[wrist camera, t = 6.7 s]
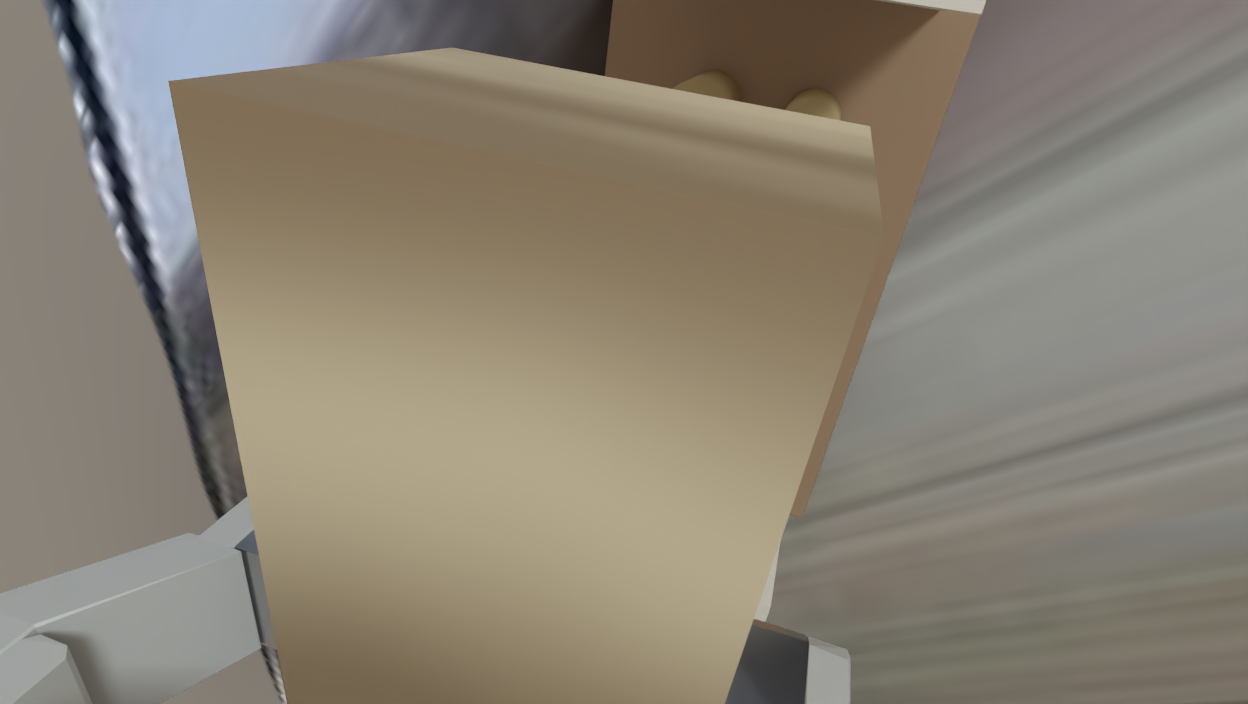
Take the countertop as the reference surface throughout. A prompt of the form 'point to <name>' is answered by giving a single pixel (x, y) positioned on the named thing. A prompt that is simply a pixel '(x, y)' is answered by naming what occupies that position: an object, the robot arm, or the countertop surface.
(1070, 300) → the countertop surface
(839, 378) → the cradle
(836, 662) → the robot arm
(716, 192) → the tan wooden block
